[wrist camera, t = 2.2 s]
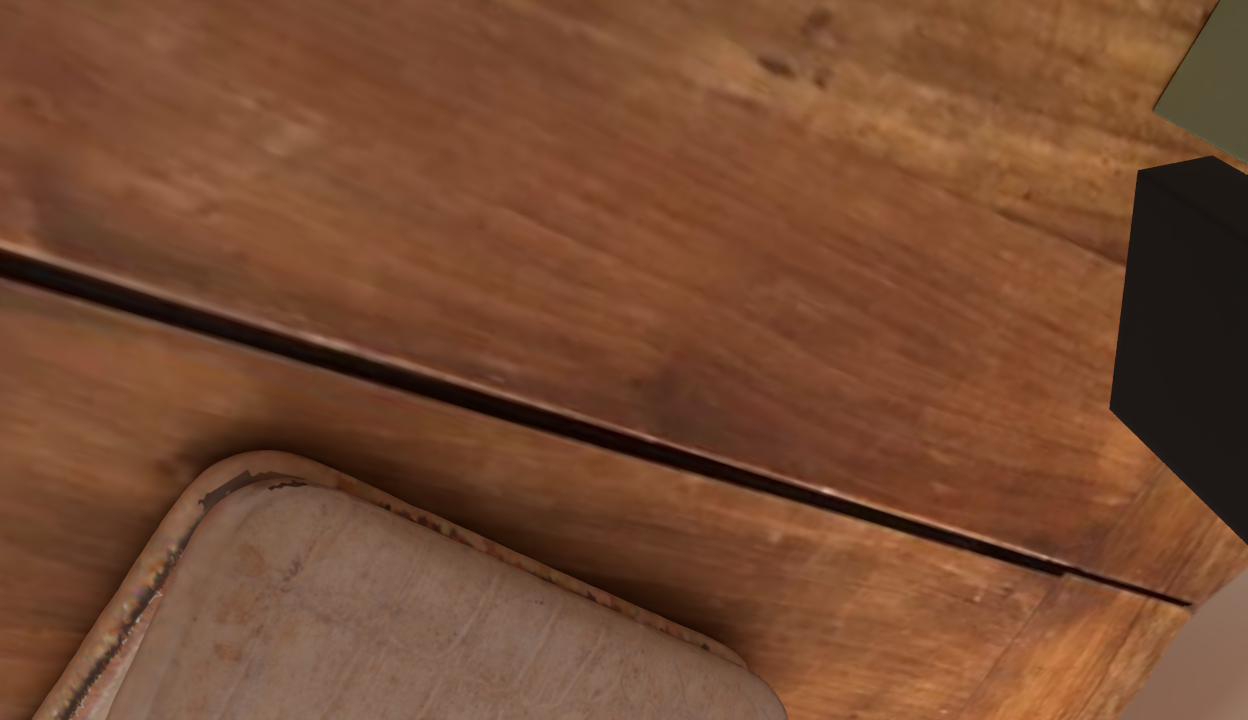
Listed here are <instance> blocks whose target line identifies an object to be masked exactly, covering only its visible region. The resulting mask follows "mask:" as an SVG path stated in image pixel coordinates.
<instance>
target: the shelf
mask: <svg viewBox="0 0 1248 720" xmlns="http://www.w3.org/2000/svg"><path fill="white" fill-rule="evenodd" d="M1153 112H1154V113H1155V114H1156V115H1158V116H1160V117H1162V118H1164V119H1166V120H1167V121H1169V122H1171V123H1173V124H1175V125H1176V126H1178V127H1180V128H1182V129H1184V130H1186V131H1187V132H1189V133H1191V134H1193V135H1195V136H1196V137H1198V138H1200V139H1202V140H1204V141H1206V142H1207V143H1209V144H1211V145H1213V146H1215V147H1216V148H1218V149H1220V150H1222V151H1224V152H1226V153H1227V154H1229V155H1231V156H1233V157H1235V158H1237V159H1238V160H1240V161H1242V162H1244V163H1246V164H1247V165H1248V0H1220V1H1219V3H1218V5H1217V6H1216V8H1215V10H1214V11H1213V13H1212V15H1211V16H1210V18H1209V19H1208V21H1207V23H1206V24H1205V26H1204V28H1203V29H1202V31H1201V33H1200V34H1199V36H1198V37H1197V39H1196V41H1195V42H1194V44H1193V46H1192V47H1191V49H1190V51H1189V52H1188V54H1187V55H1186V57H1185V59H1184V60H1183V62H1182V64H1181V65H1180V67H1179V69H1178V70H1177V72H1176V73H1175V75H1174V77H1173V78H1172V80H1171V82H1170V83H1169V85H1168V87H1167V88H1166V90H1165V91H1164V93H1163V95H1162V96H1161V98H1160V100H1159V101H1158V103H1157V105H1156V106H1155V108H1154V110H1153Z"/></svg>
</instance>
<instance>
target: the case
mask: <svg viewBox="0 0 1248 720" xmlns="http://www.w3.org/2000/svg"><path fill="white" fill-rule="evenodd" d="M31 720H788V716H787V713H786V710H785V708H784V706H783V704H782V702H781V700H780V699H779V697H778V696H777V694H776V693H775V692H774V690H773V689H772V688H771V687H770V686H769V685H768V683H767V682H766V681H764V680H763V679H762V678H761V677H760V676H759V675H757V674H756V673H754V672H753V671H751V670H749V669H748V668H747V666H746V664H745V662H744V661H743V659H742V658H741V657H740V656H739V655H738V654H737V653H736V652H735V651H734V650H732V649H731V648H729V647H727V646H726V645H724V644H722V643H720V642H718V641H716V640H714V639H712V638H710V637H708V636H706V635H704V634H702V633H699V632H696V631H694V630H691V629H689V628H687V627H684V626H681V625H679V624H677V623H675V622H672V621H670V620H667V619H665V618H663V617H661V616H659V615H657V614H655V613H653V612H650V611H648V610H645V609H643V608H640V607H638V606H636V605H634V604H632V603H629V602H627V601H625V600H623V599H621V598H618V597H616V596H614V595H612V594H610V593H608V592H605V591H603V590H601V589H598V588H596V587H593V586H591V585H589V584H587V583H585V582H582V581H579V580H578V579H576V578H574V577H571V576H569V575H567V574H564V573H562V572H560V571H557V570H555V569H553V568H551V567H549V566H547V565H545V564H542V563H540V562H538V561H536V560H534V559H532V558H529V557H527V556H525V555H522V554H520V553H517V552H515V551H513V550H511V549H509V548H507V547H504V546H502V545H500V544H498V543H496V542H494V541H492V540H489V539H487V538H484V537H482V536H481V535H479V534H476V533H474V532H472V531H470V530H467V529H465V528H463V527H460V526H458V525H456V524H454V523H451V522H450V521H448V520H446V519H444V518H442V517H440V516H438V515H435V514H433V513H431V512H428V511H425V510H423V509H420V508H417V507H415V506H412V505H410V504H408V503H406V502H404V501H402V500H400V499H398V498H396V497H394V496H392V495H390V494H389V493H387V492H384V491H382V490H380V489H378V488H376V487H373V486H371V485H369V484H367V483H365V482H363V481H361V480H358V479H356V478H354V477H352V476H349V475H347V474H345V473H342V472H340V471H338V470H335V469H333V468H330V467H328V466H326V465H324V464H321V463H319V462H316V461H314V460H311V459H309V458H307V457H304V456H301V455H297V454H294V453H289V452H285V451H278V450H258V451H249V452H244V453H240V454H236V455H233V456H231V457H228V458H226V459H223V460H221V461H219V462H217V463H215V464H213V465H212V466H210V467H209V468H207V469H206V470H205V471H203V472H202V473H201V474H200V475H199V476H198V477H197V478H196V479H195V480H194V481H193V482H192V483H191V484H190V485H189V486H188V487H187V488H186V490H185V491H184V492H183V493H182V495H181V496H180V497H179V499H178V500H177V501H176V503H175V504H174V505H173V507H172V508H171V509H170V510H169V512H168V513H167V515H166V516H165V517H164V519H163V520H162V521H161V523H160V525H159V527H158V529H157V530H156V531H155V532H154V534H153V535H152V537H151V538H150V540H149V542H148V543H147V545H146V546H145V548H144V549H143V551H142V553H141V554H140V555H139V557H138V558H137V560H136V561H135V563H134V564H133V566H132V567H131V569H130V570H129V572H128V574H127V576H126V577H125V579H124V580H123V582H122V584H121V586H120V587H119V589H118V590H117V592H116V593H115V595H114V596H113V597H112V599H111V600H110V602H109V603H108V604H107V606H106V607H105V608H104V610H103V611H102V613H101V614H100V616H99V617H98V619H97V620H96V622H95V624H94V625H93V627H92V628H91V630H90V631H89V633H88V634H87V636H86V637H85V639H84V640H83V642H82V644H81V646H80V648H79V649H78V651H77V653H76V654H75V656H74V657H73V658H72V660H71V661H70V663H69V664H68V666H67V667H66V669H65V671H64V672H63V674H62V676H61V677H60V678H59V680H58V681H57V683H56V684H55V685H54V687H53V688H52V690H51V691H50V693H49V694H48V695H47V697H46V698H45V700H44V702H43V703H42V705H41V706H40V707H39V709H38V710H37V711H36V713H35V714H34V716H33V717H32V719H31Z"/></svg>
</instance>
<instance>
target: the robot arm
mask: <svg viewBox="0 0 1248 720" xmlns="http://www.w3.org/2000/svg"><path fill="white" fill-rule="evenodd" d="M1109 409H1110V410H1111V411H1112V412H1113V413H1114V414H1115V415H1116V416H1117V417H1118V418H1119V419H1120V420H1121V421H1122V422H1123V423H1124V424H1125V425H1126V426H1127V427H1128V428H1129V429H1130V430H1131V431H1132V432H1133V433H1134V434H1135V435H1136V436H1137V437H1138V438H1139V439H1140V440H1141V441H1142V442H1143V443H1144V444H1145V445H1146V446H1147V447H1148V448H1149V449H1150V450H1152V451H1153V452H1154V453H1155V454H1156V455H1157V456H1158V457H1159V458H1160V459H1161V460H1162V461H1163V462H1164V463H1165V464H1166V465H1167V466H1168V467H1169V468H1170V469H1171V470H1172V471H1173V472H1174V473H1175V474H1176V475H1177V476H1178V477H1179V478H1180V479H1181V480H1182V481H1183V482H1184V483H1185V484H1186V485H1187V486H1188V487H1189V488H1190V489H1191V490H1192V491H1193V492H1194V493H1195V494H1196V495H1197V496H1198V497H1199V498H1200V499H1201V500H1202V501H1203V502H1204V503H1205V504H1206V505H1207V506H1208V507H1209V508H1210V509H1211V510H1213V511H1214V512H1215V513H1216V514H1217V515H1218V516H1219V517H1220V518H1221V519H1222V520H1223V521H1224V522H1225V523H1226V524H1227V525H1228V526H1229V527H1230V528H1231V529H1232V530H1233V531H1234V532H1235V533H1236V534H1237V535H1238V536H1239V537H1240V538H1241V539H1242V540H1243V541H1244V542H1245V543H1246V544H1247V545H1248V175H1246V174H1244V173H1243V172H1241V171H1239V170H1237V169H1236V168H1234V167H1232V166H1230V165H1228V164H1227V163H1225V162H1223V161H1221V160H1220V159H1218V158H1216V157H1214V156H1208V157H1203V158H1198V159H1193V160H1188V161H1183V162H1178V163H1173V164H1168V165H1162V166H1157V167H1152V168H1147V169H1142V170H1138V173H1137V182H1136V190H1135V199H1134V207H1133V215H1132V224H1131V232H1130V241H1129V249H1128V257H1127V266H1126V274H1125V283H1124V291H1123V299H1122V308H1121V316H1120V324H1119V333H1118V341H1117V350H1116V358H1115V366H1114V375H1113V383H1112V392H1111V400H1110V408H1109Z"/></svg>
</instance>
